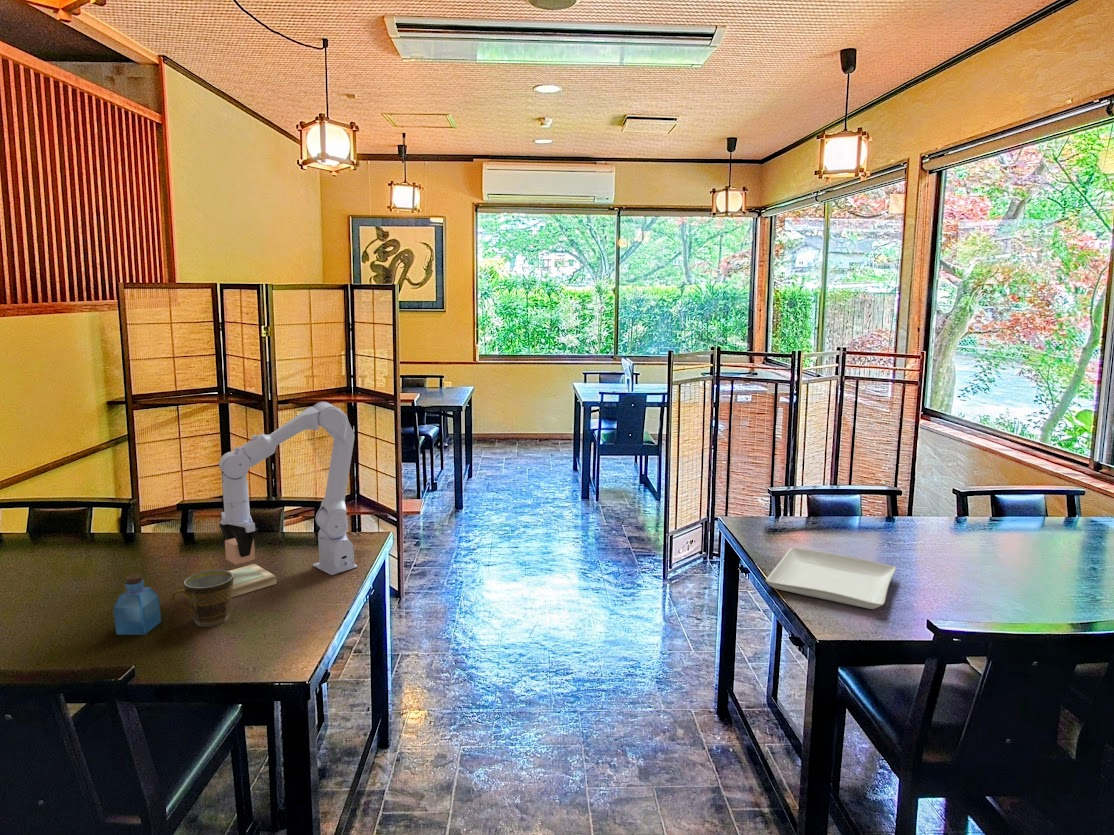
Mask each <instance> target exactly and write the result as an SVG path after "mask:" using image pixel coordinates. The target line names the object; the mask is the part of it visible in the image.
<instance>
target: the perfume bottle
mask: <svg viewBox="0 0 1114 835" xmlns="http://www.w3.org/2000/svg"><path fill="white" fill-rule="evenodd" d="M142 577H143V574H141V573H132V574H131V573H130V574H128V575H127V576H126V577H125V581H126V582H125V583H124V584H125V585H124V586H125V589H126V590H125V591H123V593H121V594H120V595H119V597H118V598H117V601H116V603H115V604H114V606H113V615H114V625H115V632H116V635H120V636H121V635H126V636H127V635H130V636H131V635H133V636H136V635H137V636H145V635H147V634H148V633H149V632H151V630H154V629H155V628H156V627H157V625H160V623H161V622H162V620H161V618H162V617H161V608H160V598H159V597H160V596H159V595H158V594H157V593H156V592H155V591H154V590H153V589H152V588H151V587H150V586H144V585H145V581H144V579H143V578H142Z"/></svg>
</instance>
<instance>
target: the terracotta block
mask: <svg viewBox="0 0 1114 835" xmlns="http://www.w3.org/2000/svg"><path fill="white" fill-rule="evenodd" d="M224 549H225V550H224V551H225V560H226V561H228V562H230V563H232V564H233V565H236V566H237V565H239V564H243V563H246V562H250V561H252V560H253V561H254V560H256V553H255V552H256V551H255V549H256V548H255V539H253V542H252V547H251V552H250V555H249V556H245V557H241V556H240V553H239V549H238V544H237V541H236V539H235V538H232V539H228V540H227V539H225V540H224Z"/></svg>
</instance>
